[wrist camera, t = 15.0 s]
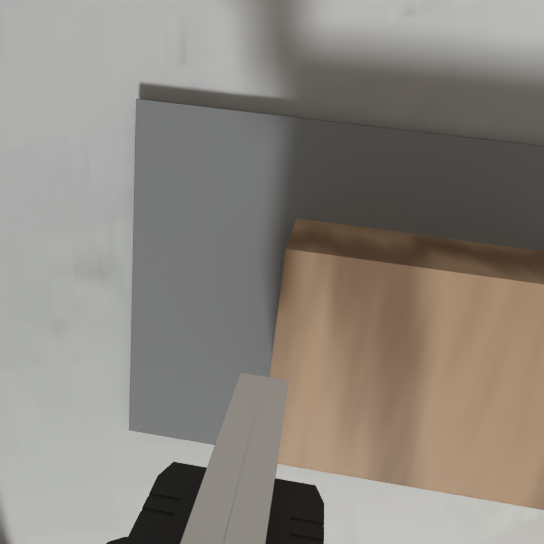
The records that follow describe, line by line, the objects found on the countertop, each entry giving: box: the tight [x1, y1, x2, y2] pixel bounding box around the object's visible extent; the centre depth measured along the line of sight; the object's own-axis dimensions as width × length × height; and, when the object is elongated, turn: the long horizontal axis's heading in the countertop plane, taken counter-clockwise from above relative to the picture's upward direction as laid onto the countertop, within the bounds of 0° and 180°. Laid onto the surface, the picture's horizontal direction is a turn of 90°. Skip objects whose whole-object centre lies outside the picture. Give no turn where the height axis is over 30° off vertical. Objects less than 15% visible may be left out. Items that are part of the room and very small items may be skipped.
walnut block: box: [270, 218, 544, 510], centre depth 20 cm, size 6×9×12 cm
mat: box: [129, 99, 544, 445], centre depth 23 cm, size 22×18×1 cm
